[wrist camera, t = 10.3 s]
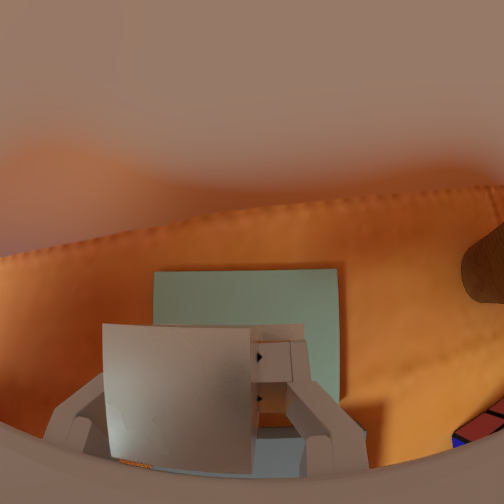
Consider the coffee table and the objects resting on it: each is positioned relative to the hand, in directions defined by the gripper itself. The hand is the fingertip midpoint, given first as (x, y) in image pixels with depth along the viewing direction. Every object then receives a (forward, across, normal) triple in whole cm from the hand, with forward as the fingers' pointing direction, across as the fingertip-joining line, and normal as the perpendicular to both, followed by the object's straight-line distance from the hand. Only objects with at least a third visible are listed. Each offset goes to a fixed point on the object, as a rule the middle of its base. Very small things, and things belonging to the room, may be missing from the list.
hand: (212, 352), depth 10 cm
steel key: (+4, 0, +5) cm, 7 cm away
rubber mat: (+12, 0, +13) cm, 17 cm away
